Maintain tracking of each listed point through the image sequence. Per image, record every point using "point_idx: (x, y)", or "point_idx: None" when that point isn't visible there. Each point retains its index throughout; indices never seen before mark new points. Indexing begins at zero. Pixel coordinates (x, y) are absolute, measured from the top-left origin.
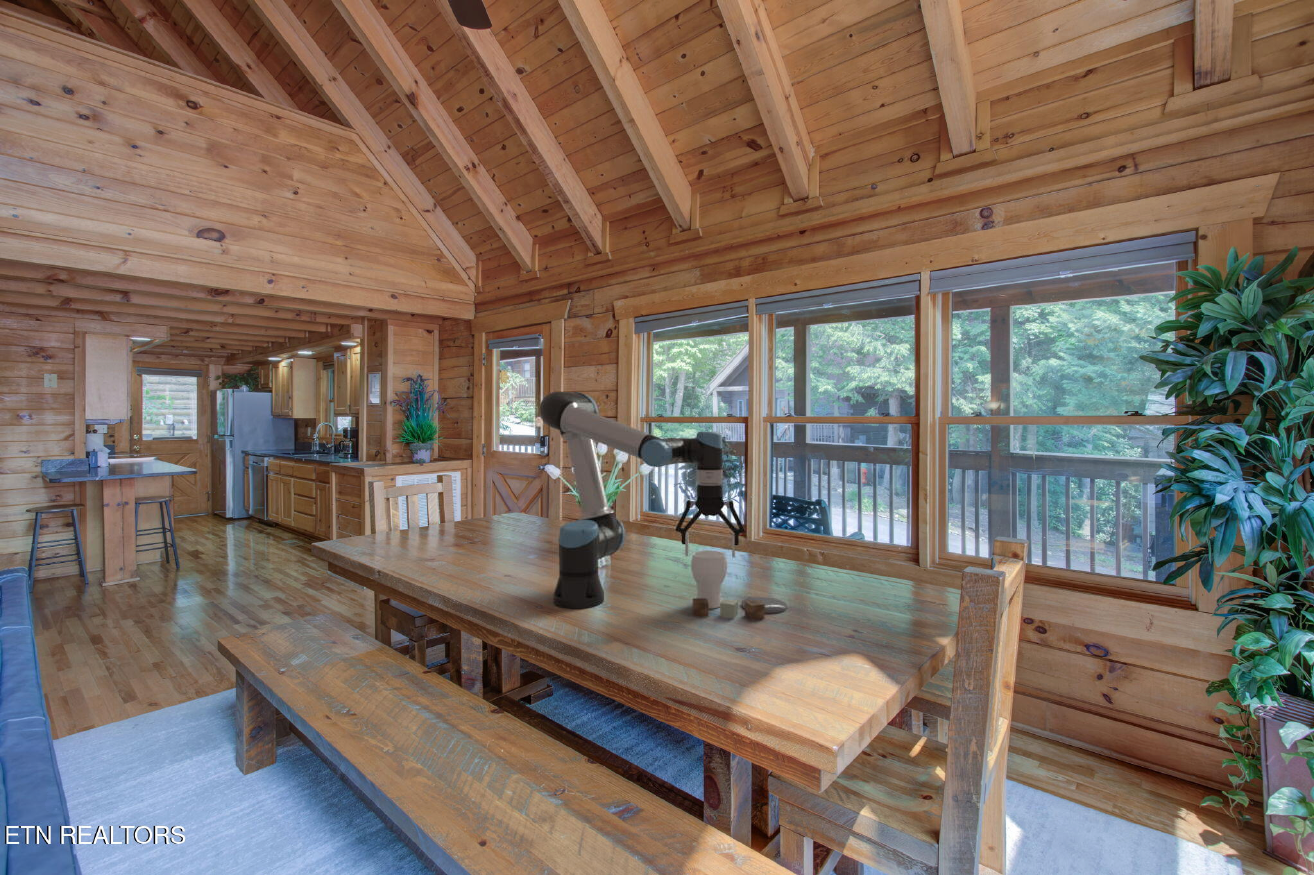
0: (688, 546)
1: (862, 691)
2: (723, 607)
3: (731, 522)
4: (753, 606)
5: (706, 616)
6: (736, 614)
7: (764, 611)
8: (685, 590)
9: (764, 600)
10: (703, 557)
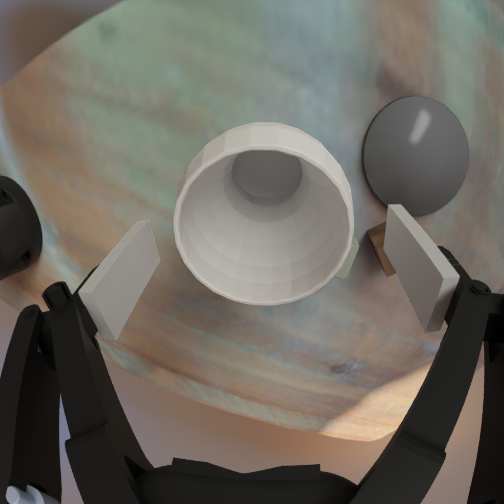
0: (134, 253)
1: None
2: None
3: (474, 361)
4: (391, 273)
5: None
6: None
7: None
8: (168, 46)
9: (425, 129)
10: (244, 302)
